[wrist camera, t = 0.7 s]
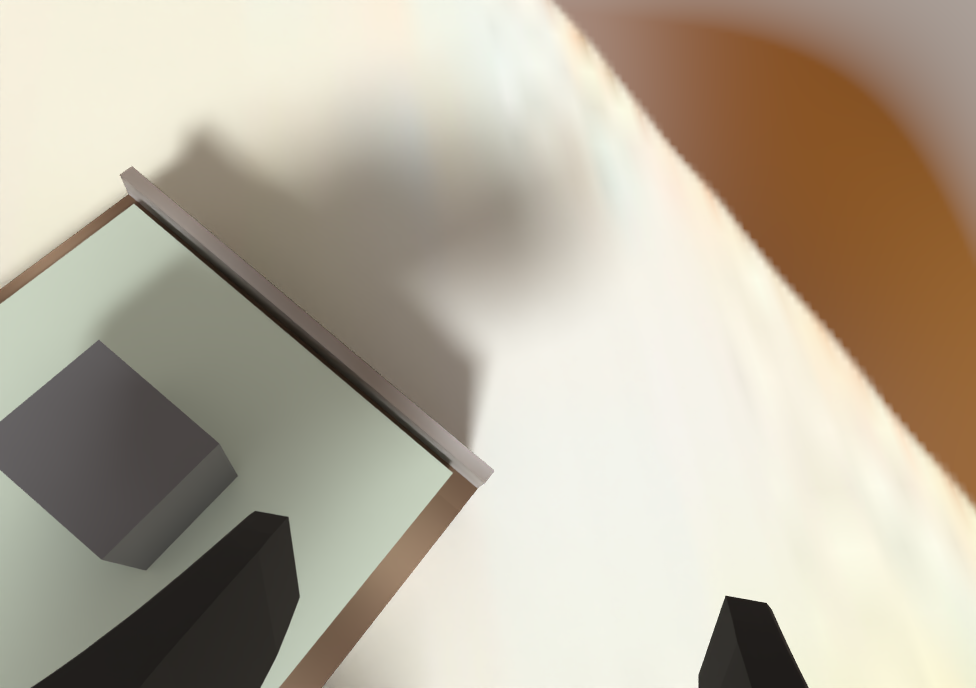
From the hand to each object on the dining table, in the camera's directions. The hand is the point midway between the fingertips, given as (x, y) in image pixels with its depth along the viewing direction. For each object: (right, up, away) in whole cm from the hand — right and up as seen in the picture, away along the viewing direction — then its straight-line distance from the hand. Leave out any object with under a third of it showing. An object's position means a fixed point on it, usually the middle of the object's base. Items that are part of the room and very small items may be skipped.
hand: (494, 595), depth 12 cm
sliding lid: (-10, 0, +10) cm, 14 cm away
